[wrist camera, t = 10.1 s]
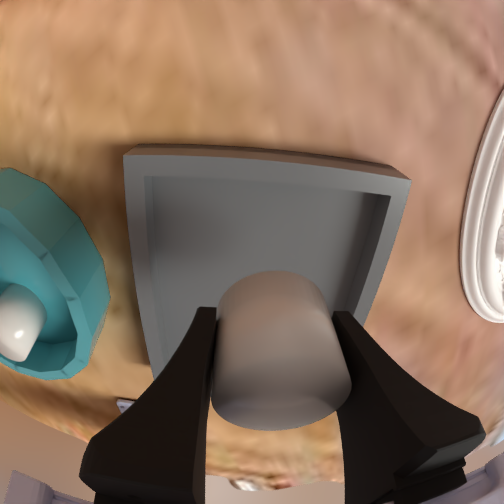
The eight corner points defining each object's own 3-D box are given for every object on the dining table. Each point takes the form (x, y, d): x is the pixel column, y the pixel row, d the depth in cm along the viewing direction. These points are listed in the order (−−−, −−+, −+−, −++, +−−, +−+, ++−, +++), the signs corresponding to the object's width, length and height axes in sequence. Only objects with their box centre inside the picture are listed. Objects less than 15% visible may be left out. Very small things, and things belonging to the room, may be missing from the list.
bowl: (125, 356, 24) (114, 395, 20) (-10, 329, 22) (-27, 356, 19) (90, 162, 15) (56, 187, 12) (-62, 177, 14) (-94, 198, 11)
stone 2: (313, 352, 14) (330, 427, 10) (215, 350, 13) (212, 429, 10) (337, 273, 11) (371, 353, 8) (217, 267, 11) (210, 354, 8)
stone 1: (54, 329, 21) (35, 366, 18) (15, 322, 21) (-4, 355, 17) (37, 286, 19) (12, 322, 15) (-2, 281, 18) (-28, 313, 15)
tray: (325, 372, 25) (330, 395, 23) (161, 367, 24) (157, 391, 22) (391, 166, 16) (412, 180, 14) (138, 143, 15) (123, 155, 13)
